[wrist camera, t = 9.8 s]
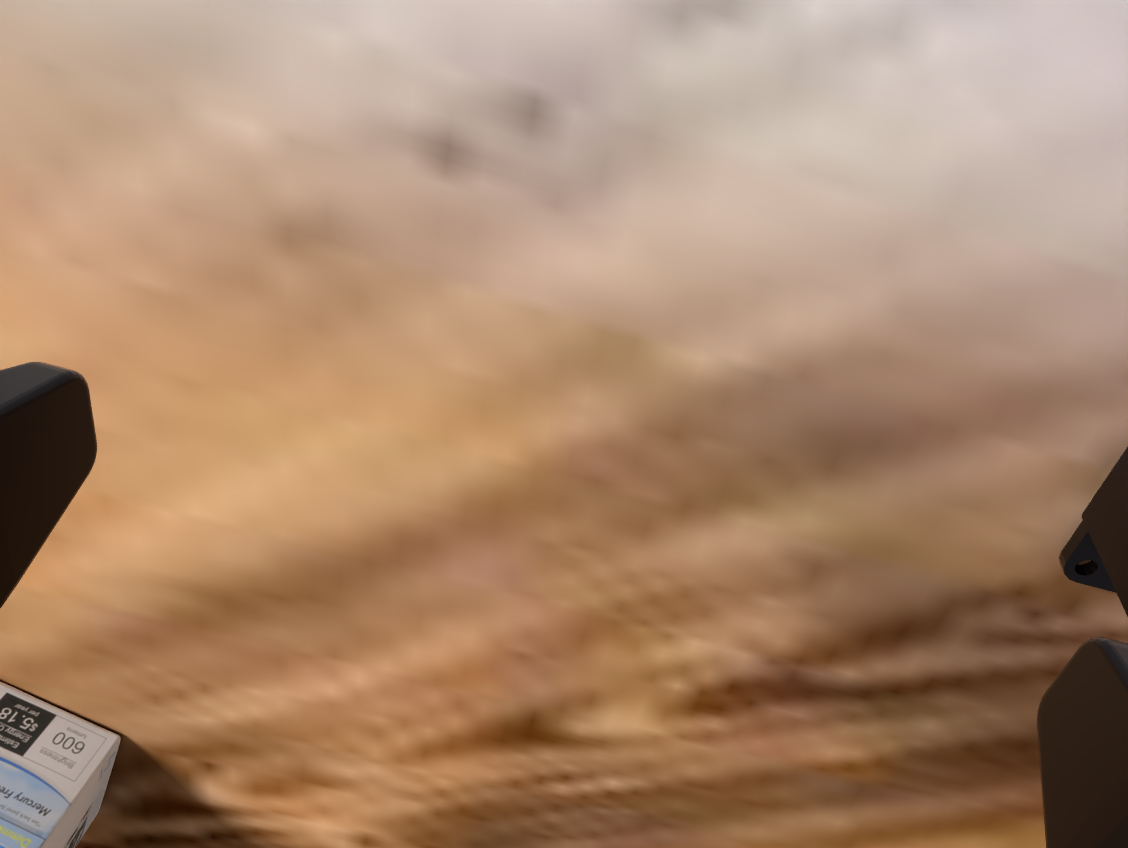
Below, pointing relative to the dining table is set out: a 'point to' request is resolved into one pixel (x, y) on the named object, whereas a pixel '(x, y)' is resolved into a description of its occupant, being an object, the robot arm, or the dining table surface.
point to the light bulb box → (49, 772)
